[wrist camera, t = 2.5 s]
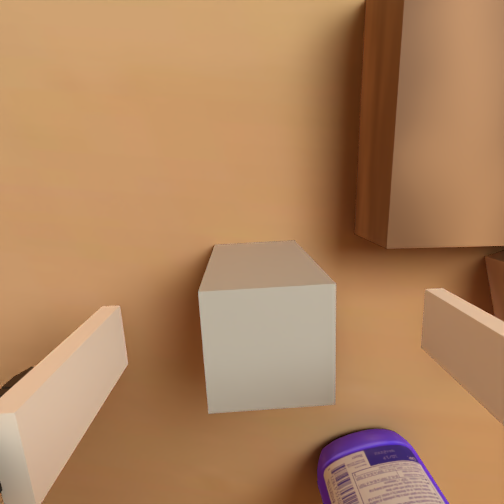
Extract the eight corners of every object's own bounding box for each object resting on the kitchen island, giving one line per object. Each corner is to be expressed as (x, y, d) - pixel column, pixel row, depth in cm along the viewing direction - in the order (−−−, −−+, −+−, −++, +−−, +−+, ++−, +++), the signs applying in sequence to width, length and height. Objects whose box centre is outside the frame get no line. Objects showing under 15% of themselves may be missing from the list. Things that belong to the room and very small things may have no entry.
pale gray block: (220, 319, 22) (208, 413, 13) (214, 244, 21) (197, 291, 12) (295, 314, 22) (335, 404, 13) (294, 240, 21) (336, 283, 12)
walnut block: (352, 233, 21) (386, 248, 16) (363, 2, 18) (408, -62, 14) (547, 228, 22) (637, 242, 17) (586, 3, 19) (708, -58, 14)
